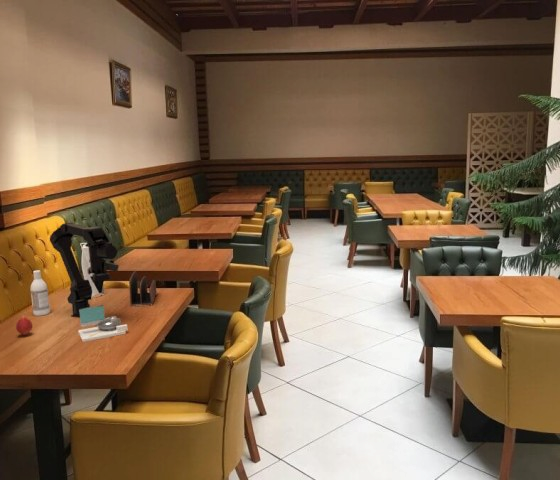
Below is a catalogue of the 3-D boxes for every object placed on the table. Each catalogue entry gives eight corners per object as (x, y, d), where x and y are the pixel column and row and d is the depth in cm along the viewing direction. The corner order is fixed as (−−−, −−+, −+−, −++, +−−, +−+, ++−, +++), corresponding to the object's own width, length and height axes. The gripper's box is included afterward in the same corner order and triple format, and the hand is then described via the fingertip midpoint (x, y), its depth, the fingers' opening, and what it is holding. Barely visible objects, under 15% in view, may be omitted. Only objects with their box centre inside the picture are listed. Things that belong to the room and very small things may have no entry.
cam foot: (118, 320, 214) (116, 300, 212) (123, 326, 206) (121, 305, 204) (80, 328, 206) (77, 306, 205) (83, 334, 199) (81, 312, 197)
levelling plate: (121, 324, 214) (120, 317, 214) (128, 333, 204) (127, 325, 203) (78, 332, 206) (77, 325, 206) (83, 342, 196) (82, 334, 195)
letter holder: (130, 307, 240) (127, 277, 238) (136, 295, 259) (134, 268, 257) (152, 305, 241) (149, 276, 239) (157, 294, 260) (154, 267, 258)
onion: (17, 338, 202) (14, 319, 201) (17, 334, 207) (14, 315, 206) (33, 335, 205) (31, 316, 203) (33, 331, 210) (30, 312, 208)
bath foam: (33, 312, 236) (28, 270, 233) (50, 310, 239) (45, 268, 236) (33, 316, 230) (27, 273, 227) (50, 314, 233) (44, 271, 229)
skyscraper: (92, 298, 256) (86, 243, 252) (81, 297, 260) (75, 242, 256) (105, 294, 263) (100, 240, 259) (94, 293, 267) (89, 240, 263)
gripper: (120, 258, 213) (124, 294, 216) (111, 251, 229) (115, 285, 232) (92, 261, 208) (96, 299, 210) (85, 254, 224) (89, 289, 227)
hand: (100, 292), depth 220 cm, fingers closed
